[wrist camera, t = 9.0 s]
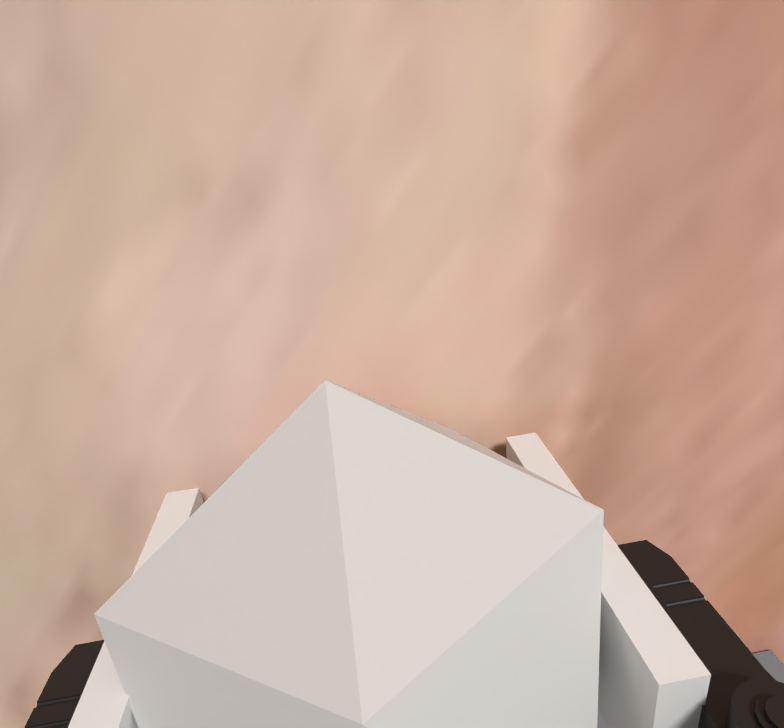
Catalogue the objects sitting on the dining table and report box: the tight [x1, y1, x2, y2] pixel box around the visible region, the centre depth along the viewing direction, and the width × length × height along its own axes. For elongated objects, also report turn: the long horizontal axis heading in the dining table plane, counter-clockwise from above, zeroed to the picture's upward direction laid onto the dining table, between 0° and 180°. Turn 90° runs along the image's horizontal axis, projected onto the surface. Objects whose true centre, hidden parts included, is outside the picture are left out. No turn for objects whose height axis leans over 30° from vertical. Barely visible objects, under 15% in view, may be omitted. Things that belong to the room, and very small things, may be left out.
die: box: [94, 380, 604, 728], centre depth 10 cm, size 8×9×10 cm
